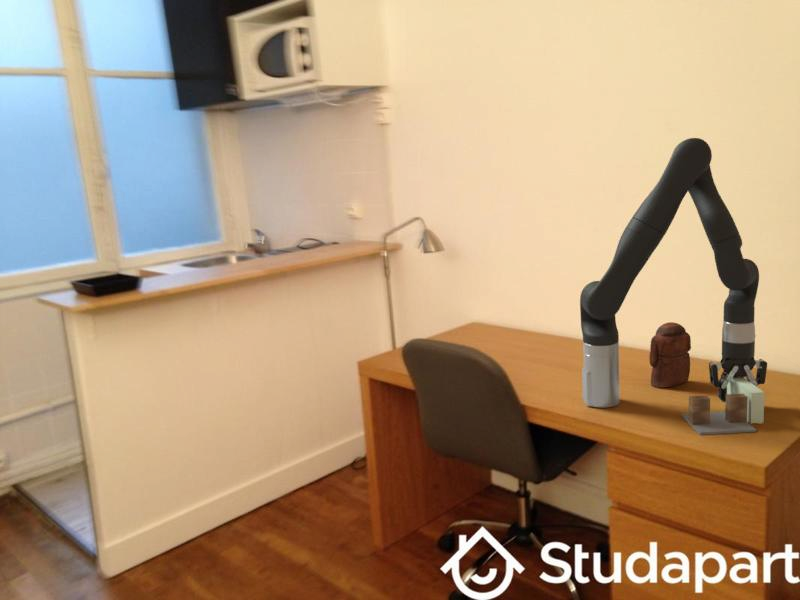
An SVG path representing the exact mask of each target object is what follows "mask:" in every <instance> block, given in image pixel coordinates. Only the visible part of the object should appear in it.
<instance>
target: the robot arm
mask: <svg viewBox="0 0 800 600" xmlns="http://www.w3.org/2000/svg"><path fill="white" fill-rule="evenodd" d="M712 153H713V152H712V149H711V147H710V145H709V144H708V143H707V141H705V140H704V139H703V138H698V137H691V138H690V137H689V138H687V139H685V140H682V141H681V142H680V143H678V144H677V145H676V147H674V149H673V152H672V154H671V156H670V158H669V160H668V163H667V165H666V167H665V169H664V171H663V172H662V175H661V176H660V178H659V180H658V182H656V185H655V186H654V187H653V189H652V190H651V191H650V192H649V194H648V195H647V196H646V197H645V198H644V200H643V202H641V204H640V206H639V207H638V208H637V210H636V212H635V213H633V215H632V217H631V219H630V220H629V222H628V223H627V225H626V227H625V228H624V230H623V232H622V234H621V236H620V238H619V240H618V243H617V247H616V250H615V252H614V256H613V259H612V261H611V263H610V265H609V267H608V269H607V270H606V272H605V273H604V275H603V276H602V277H601V279H600V280H593V281H591V282H589V283H588V284H586V285H584V287H583V289H582V290H581V292H580V295H579V296H580V300H579V309H580V328H581V332H582V345H583V348H582V349H583V350H582V351H583V352H582V355H583V366H582V367H581V381H582V385H581V387H582V388H581V389H582V400H583V402H584V404H585V405H586V407H594V408H612V407H616V406H618V405H619V404H620V398H621V397H620V352H619V351H620V350H619V349H620V347H619V346H620V345H619V344H620V343H619V342H620V341H619V336H620V335H619V330H618V327H617V323H616V322H617V321H616V314H617V313H619V310H620V309H621V307H622V305H623V303H624V301H625V299H626V297H627V295H628V293H629V291H630V289H631V287H632V286H633V283H634V282H635V280H636V279H637V277H638V275H639V274H640V273H641V271H642V270H643V268H644V267H645V265H646V264H647V263H648V260H649V259H650V258H651V256H652V255H653V253H654V251H656V249H657V247H658V246H659V245H660V243H661V241H662V240H663V238H664V237H665V235H666V233H667V231H668V230H669V228H670V226H671V224H672V223H673V221H674V219H675V217H676V214H677V212H678V210H679V209H680V205H681V203H682V202H683V199H684V198H685V197H686V195H687V193H689V195H690V198H691V200H692V201H693V203H694V204H693V205H694V206H695V208H696V211H697V214H698V216H699V219H700V222H701V224H702V227H703V229H704V233H705V235H706V237H707V240H708V242H709V244H710V247H711V249H712V251H713V255H714V262H715V266H716V271H717V274H718V277H719V280H720V282H721V283H722V284H723V286H724V287H726V288H727V289H728V296H727V297H726V299H725V301H724V303H723V320H722V321H723V322H722V329H721V359H720V361H719V362H712V361H710V362H709V363H708V371H709V380H710V382H709V383H710V384H711V385H712V386H714V387H715V388H718V390H717V391H718V392H717V397H718V399H719V400H720V401H721V402H722V403H726V394H727V384H728V383H729V382H730V381H731V379H732V378H735V377H744V378H745V379H746V380H748V381H749V382H751V383H752V384H753V385H755V386H756V387H758V386H759V385H764V384H765V383H766V376H767V372H768V371H767V369H768V362H767V361H765V360H764V359H762V358H759V359H758V360H757V359H756V358H755V351H756V346H755V345H756V325H755V309H756V308H755V302H756V298H757V294H758V289H759V282H760V272H759V268H758V267H759V266H758V265H757V264H756V263H755V262H754V261H753V260H751V259H749V258H744V256H743V253H742V250H741V248H742V246H743V240H742V236H741V234H740V232H739V230H738V227H737V225H736V222H735V220H734V218H733V216H732V214H731V213H730V210H729V209H728V207H727V205H726V204H725V202H724V200H723V198H722V197H721V194H720V193H719V191H718V188H717V186H716V183H715V180H714V179H713V173H712V169H711V163H712V159H713V158H712V156H713V155H712ZM721 368H722V369H723V371H722V372H721V374H720V378H719V374H718V373H719V371H720V369H721ZM754 368H756V373H755V374H756V375H755V376H754V374H753V372H752V370H753V369H754Z"/></svg>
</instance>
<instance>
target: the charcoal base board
mask: <svg viewBox="0 0 800 600" xmlns="http://www.w3.org/2000/svg"><path fill="white" fill-rule="evenodd" d="M681 417H682V418H683V419H684V420H685V421H686V422H687V423H688V425H690V426H691V427H692V428H693V430H694V431H695V432H696V433H697V434H698V435H700V436H701V435H702V436H703V435H704V436H705V435H723V434H739V433H756V432H757V429H756V428H755V427H754V426H752V424H750V423H749V422H748V421H747V422H735V423H729V422H728V421H727V420H726V419H725V411H718V412H717V411H713V412H712V411H710V424H697V425H692V424H691V423H690V422H689V413H682V414H681Z"/></svg>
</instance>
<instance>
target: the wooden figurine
mask: <svg viewBox="0 0 800 600" xmlns="http://www.w3.org/2000/svg"><path fill="white" fill-rule="evenodd" d="M691 339H692V338H691V335H690V334H689V333H688V332H687V331H686V328H685V327H684V326H683V325H681V324H680V323H677V322H673V321H672V322H666V323H663V324H661V325H660V326H659V327H658V328H657V330H656V332H655V334H654V335H653V336H652V338H651V340H650V345H649V346H650V348H649V349H650V350H649V351H650V352H649V365H650V366H651V367H652V368H651V375H650V385H651V386H652V387H656V388H661V389H663V388H670V387H671V388H672V387H675V386H677V385H683V384H686V383H688V381H689V379H690V373H691V356H690V353H689V352H690V351H691V349H692V344H691V343H692V342H691V341H692V340H691Z"/></svg>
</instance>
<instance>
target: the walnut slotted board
mask: <svg viewBox="0 0 800 600" xmlns="http://www.w3.org/2000/svg"><path fill="white" fill-rule="evenodd" d="M747 404H748V397H747V396H746V395H745V394H726V402H725V405H724V406H725V409H724V410H725V411H724V412H725V419H726V420H727V421H728V422H729V423H735V422H748V421H747ZM710 412H711V398H710V397H709V396H708V395H695V396H693V395H691V396H688V414H689V422H690V423H691V424H692V425H697V424H710Z"/></svg>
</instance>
